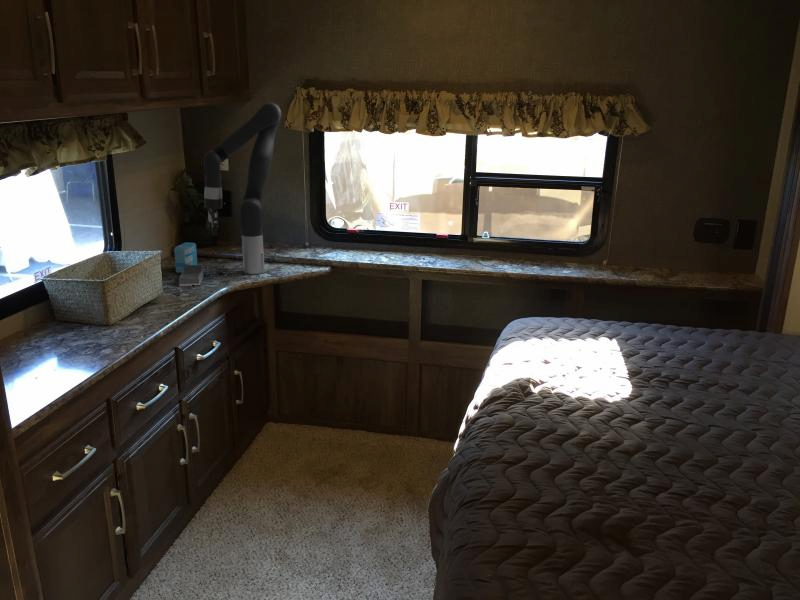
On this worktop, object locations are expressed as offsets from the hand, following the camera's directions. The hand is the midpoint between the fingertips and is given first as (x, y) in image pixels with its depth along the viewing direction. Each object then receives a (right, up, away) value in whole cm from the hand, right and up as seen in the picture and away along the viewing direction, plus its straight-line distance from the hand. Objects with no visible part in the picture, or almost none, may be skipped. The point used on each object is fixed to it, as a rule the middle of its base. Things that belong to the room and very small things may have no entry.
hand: (213, 233), depth 302 cm
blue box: (-14, -16, +7) cm, 23 cm away
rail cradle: (-7, -21, -8) cm, 24 cm away
